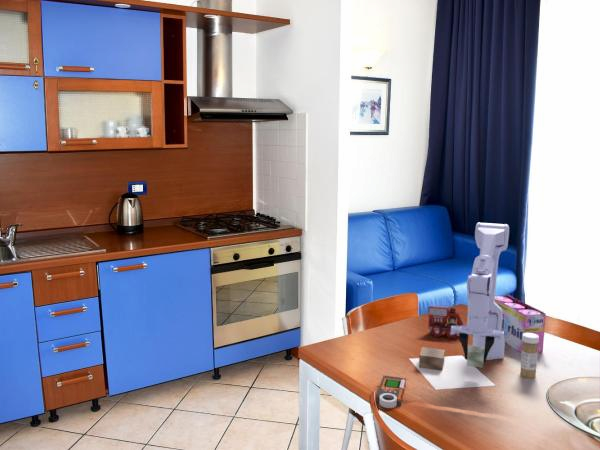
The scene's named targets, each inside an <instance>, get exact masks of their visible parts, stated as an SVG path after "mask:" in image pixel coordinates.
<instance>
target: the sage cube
mask: <svg viewBox="0 0 600 450" xmlns="http://www.w3.org/2000/svg"><path fill="white" fill-rule="evenodd" d="M483 361H484V347H477V346H473V345H468V353H467V366H473V367H475V368H481V369H483V368H484V362H483Z"/></svg>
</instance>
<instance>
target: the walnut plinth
mask: <svg viewBox="0 0 600 450" xmlns="http://www.w3.org/2000/svg"><path fill="white" fill-rule="evenodd" d="M445 357H446V350H445V349H442V348H441V349H439V348H433V347H426V346H424V347H423V346H422V347H421V350H420V353H419V357H418V358H419V368H426V369H434V370H441V371H442V370H443V366H444V359H445Z"/></svg>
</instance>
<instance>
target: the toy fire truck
mask: <svg viewBox="0 0 600 450" xmlns="http://www.w3.org/2000/svg"><path fill="white" fill-rule="evenodd" d="M427 313H428V326H427V327H428V329H429V330H430V333H431V334H432V335H431V336H433V337H435V338H439V337H442V335H443V333H444V332H445V335H446V337H447V338H448V339H451V338H453V339H455V338H457V336H458V334H451V326H464V323H463V320H462V318H461V316H460V313H459V312H456V308H455V307H450V309H449V308H448V307H447V306H445V307H444V306H433V305H429V306H428V308H427Z"/></svg>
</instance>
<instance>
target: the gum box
mask: <svg viewBox="0 0 600 450" xmlns="http://www.w3.org/2000/svg"><path fill="white" fill-rule="evenodd" d="M494 302H495V303H496V304H497V305H498V306H500V307H501V308H502V311H503V313H502V316H503V320H502V329H501V331H504V338H505V344H507V345H509V347H512V348H513V349H515V350H517V352H519V353H522V335H523V334H524V333H534V334H537V335H538V336H539V342H538V349H537V352H538V353H543V352H544V340H545V330H546V329H545V328H546V317H547V314H546V313H545V312H544V311H542V310H540V309H537V308H535V307H533V306H532V305H530V304H528V303H525V302H524V301H521V300H519V299H518V298H515V297H513V296H512V295H510V294H503V295H502V296H500V295H497V296H495V301H494ZM489 312H492V313H496V312H495V311H490V310H489Z"/></svg>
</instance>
